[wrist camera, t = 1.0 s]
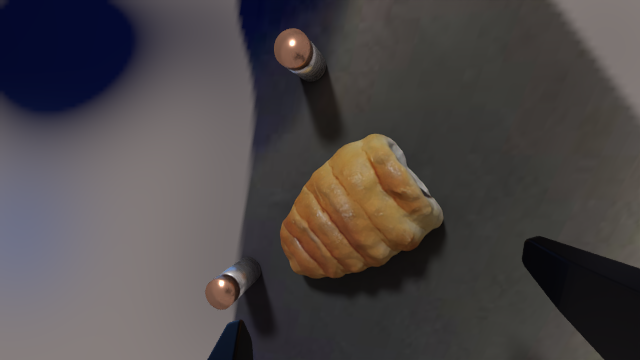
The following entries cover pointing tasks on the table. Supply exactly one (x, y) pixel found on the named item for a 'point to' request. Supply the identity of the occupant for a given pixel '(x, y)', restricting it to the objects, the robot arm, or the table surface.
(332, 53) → the table surface
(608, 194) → the table surface
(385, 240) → the pastry
